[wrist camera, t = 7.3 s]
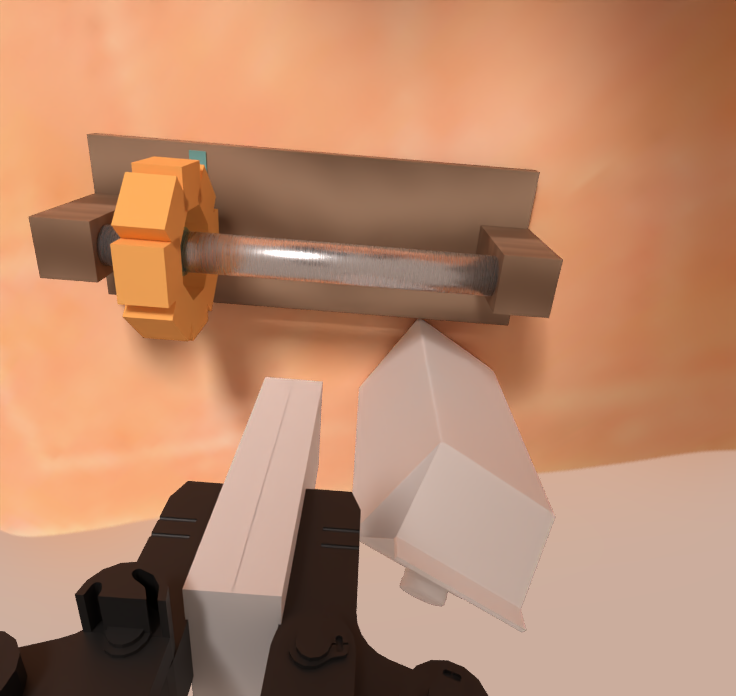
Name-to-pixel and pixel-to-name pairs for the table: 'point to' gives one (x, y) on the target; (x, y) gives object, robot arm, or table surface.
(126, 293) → the ring
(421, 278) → the pipe
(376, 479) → the milk carton
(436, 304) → the rack
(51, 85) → the table surface
